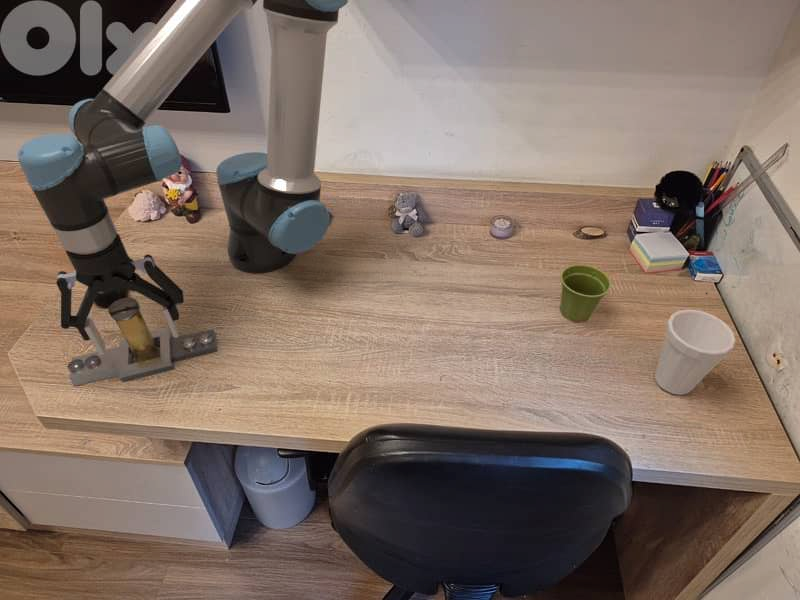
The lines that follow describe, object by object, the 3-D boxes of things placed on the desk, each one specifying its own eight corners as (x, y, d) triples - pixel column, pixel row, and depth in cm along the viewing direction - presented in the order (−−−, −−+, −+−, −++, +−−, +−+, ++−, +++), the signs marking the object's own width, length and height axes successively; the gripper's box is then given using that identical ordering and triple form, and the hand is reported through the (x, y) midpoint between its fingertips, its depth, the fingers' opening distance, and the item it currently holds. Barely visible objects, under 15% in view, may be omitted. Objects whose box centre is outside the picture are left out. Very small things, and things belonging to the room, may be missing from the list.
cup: (713, 383, 92) (746, 331, 84) (687, 415, 87) (720, 363, 78) (659, 352, 98) (685, 300, 89) (632, 380, 93) (657, 329, 84)
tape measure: (129, 305, 107) (122, 291, 104) (92, 312, 105) (85, 298, 103) (131, 284, 112) (125, 271, 109) (96, 291, 110) (89, 277, 107)
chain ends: (214, 326, 102) (210, 316, 100) (218, 358, 96) (215, 348, 94) (76, 358, 96) (69, 348, 94) (71, 394, 90) (65, 384, 88)
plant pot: (607, 310, 106) (619, 277, 100) (587, 336, 101) (599, 303, 95) (564, 290, 110) (574, 258, 105) (543, 314, 105) (552, 281, 99)
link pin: (161, 346, 98) (137, 294, 89) (162, 363, 95) (137, 312, 86) (135, 352, 97) (108, 301, 88) (135, 370, 94) (107, 319, 85)
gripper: (174, 212, 84) (207, 311, 98) (5, 242, 78) (67, 342, 92) (176, 238, 79) (211, 338, 93) (-5, 272, 72) (63, 373, 87)
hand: (139, 340), depth 93 cm, fingers open, 11 cm apart
